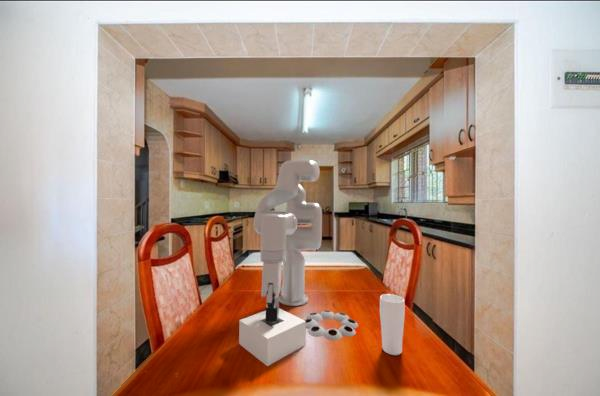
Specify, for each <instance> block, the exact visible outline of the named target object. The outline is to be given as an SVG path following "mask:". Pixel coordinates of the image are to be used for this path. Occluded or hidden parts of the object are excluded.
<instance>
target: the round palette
mask: <svg viewBox="0 0 600 396" xmlns="http://www.w3.org/2000/svg"><path fill="white" fill-rule="evenodd" d="M323 319H325V320H331V319H333V320H334V321H337V322H340V325H341V326H340V327H339V328H338V329H336V328H328V329H326V330H325V328H324V327H323V326H321V325H319V323H318V322H321V321H323ZM303 320H304V321H306V329H308V330H307V333H308V334H309V335H310V336H312V337H315V338H316V337H324V338H326V339H328V340H330V341H337V340H340V339H342V337H346V338H347V337H353V336H355V335H356V334H357V331H356V330H355V329H357V328H358V327H359V324H358V323H357V321H356V320H354V319H353V318H350V317H349V315H347V313H344V312H337V313H334V312H333V311H331V310H322V311H321V312H320V313H318V312H311V313H309V314H308V315H307V316H306V319H303ZM313 328H315V329H316V328H318V330H316V331H314V330H312V329H313ZM345 328H349V329H351V330H352V331H348V330H346V329H345ZM331 331H332V332H336V334H335V335H332V334H330V333H329V332H331Z"/></svg>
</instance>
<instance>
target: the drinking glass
mask: <svg viewBox="0 0 600 396" xmlns="http://www.w3.org/2000/svg"><path fill="white" fill-rule="evenodd" d="M405 304H406V303H405V298H404V297H403V296H400V295H397V294H393V293H384V294H381V295H380V296H379V317H380V330H381V331H380V332H381V349H382V350H383V352H385V353H387V354H388V355H391V356H399V355H400V354H402V353H403V339H404V338H403V337H404V328H405V327H404V325H405V318H406V317H405V316H406V314H405V313H406V309H405Z"/></svg>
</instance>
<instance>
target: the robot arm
mask: <svg viewBox="0 0 600 396" xmlns="http://www.w3.org/2000/svg"><path fill="white" fill-rule="evenodd" d="M320 172H321V170H320V165H319V164H318V162H317V161H314V160H312V159H311V160H310V159H299V160H298V159H297V160H296V159H295V160H294V159H293V160H286V161H284V162H283V163H281V165H280V168H279V172H278V174H277V175H278V176H277V179H276V184H275V188H273V189H271V190H270V191H269V192H267V193H266V194H265V195H264V196H263V197H262V198H261V199H260V200H259V202H258V204H257V207H256V211H255V213H254V218H253V230H254V231H255V232H256V233H257V234H259V235H260V256H259V257H260V262H262V271H261V272H262V273H261V274H262V275H261V294H260V295H261V297H262V298H266V302H265V305H266V306H265V311H266V321H270V322H276V321H277V307H276V298H277V297H278V296H279V304H282V305H284V306H290V307H298V306H302V305H305V304H307V303H308V302H309V297H308V295H307V294H305V288H306V287H305V285H306V284H305V283H306V280H305V277H306V275H305V272H306V271H305V269H306V265H305V264H306V261H305V260H306V259H305V255H304V254H303V253H302V251H301V250H308V251H309V250H311V251H313V250H314V251H315V250H319V249H320V248H321V246H322V241H323V239H322V238H323V237H322V236H323V235H322V233H323V210H322V207H321V205H320V204H319V203H317V202H307V201H306V199H307V198H306V196H307V195H306V194H307V192H306V190H305V189H304V187H303V186H302V185H301V184H300V182H317V181H319V178H320V174H321V173H320ZM283 204H286V207H285V211H283V212H281V211H271V210H272V209H274V208H275V207H277V206H280V205H283ZM298 225H310V226H298ZM280 293H281V294H280ZM273 294H275V296H273ZM273 299H274V300H273Z"/></svg>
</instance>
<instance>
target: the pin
mask: <svg viewBox="0 0 600 396" xmlns="http://www.w3.org/2000/svg"><path fill="white" fill-rule="evenodd" d="M273 296H275V294H273ZM279 297H280V295H279V296H278V297H277V298H276V307H277V321H276V322H270V321H266V324H267V325H269V326H273V325H276V324H278V323H279V308H280V302H279ZM273 300H274V299H273Z"/></svg>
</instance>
